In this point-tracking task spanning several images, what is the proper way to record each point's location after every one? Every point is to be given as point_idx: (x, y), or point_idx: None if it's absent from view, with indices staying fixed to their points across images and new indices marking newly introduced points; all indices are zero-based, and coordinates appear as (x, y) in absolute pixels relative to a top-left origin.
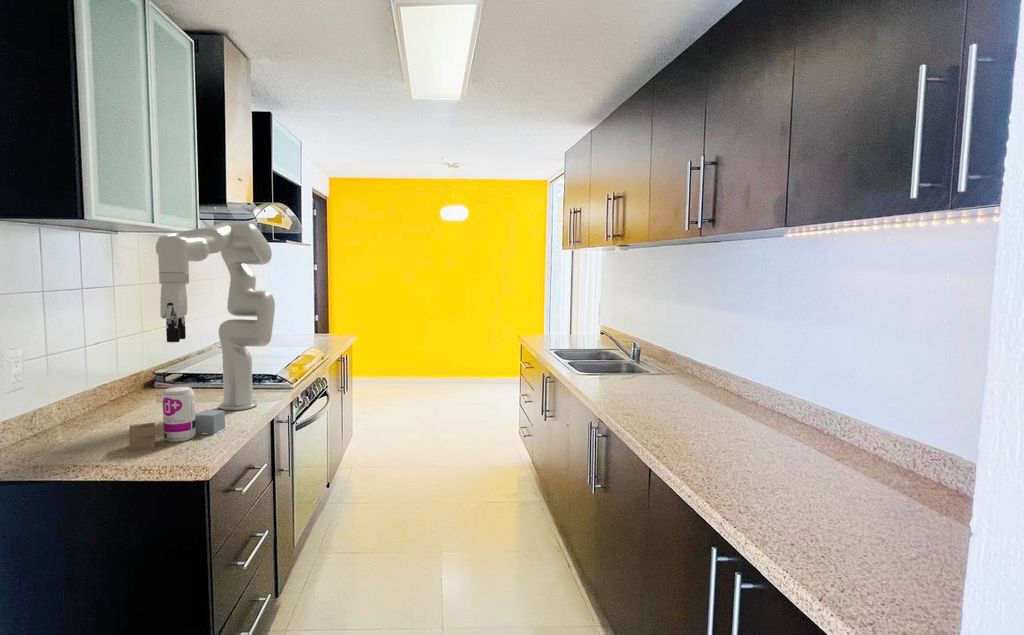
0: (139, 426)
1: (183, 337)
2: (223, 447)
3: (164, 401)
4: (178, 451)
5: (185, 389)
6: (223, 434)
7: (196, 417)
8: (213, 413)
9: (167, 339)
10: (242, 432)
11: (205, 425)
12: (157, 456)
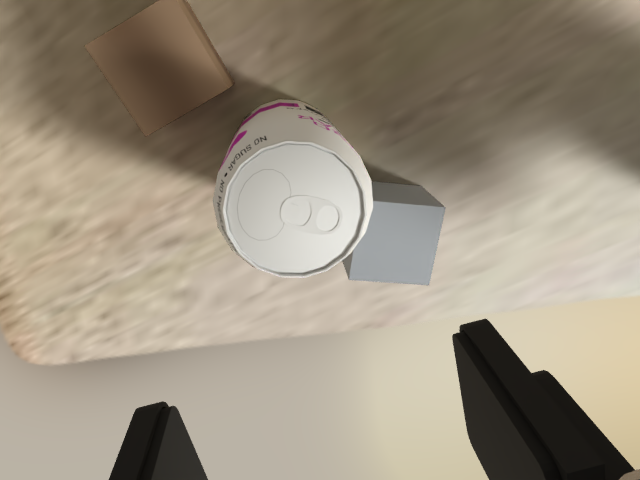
0: (152, 57)
1: (473, 440)
2: (199, 341)
3: (227, 155)
4: (139, 226)
5: (301, 249)
6: (341, 278)
7: None
8: (385, 263)
9: (134, 435)
10: (365, 326)
11: None
12: (75, 185)
